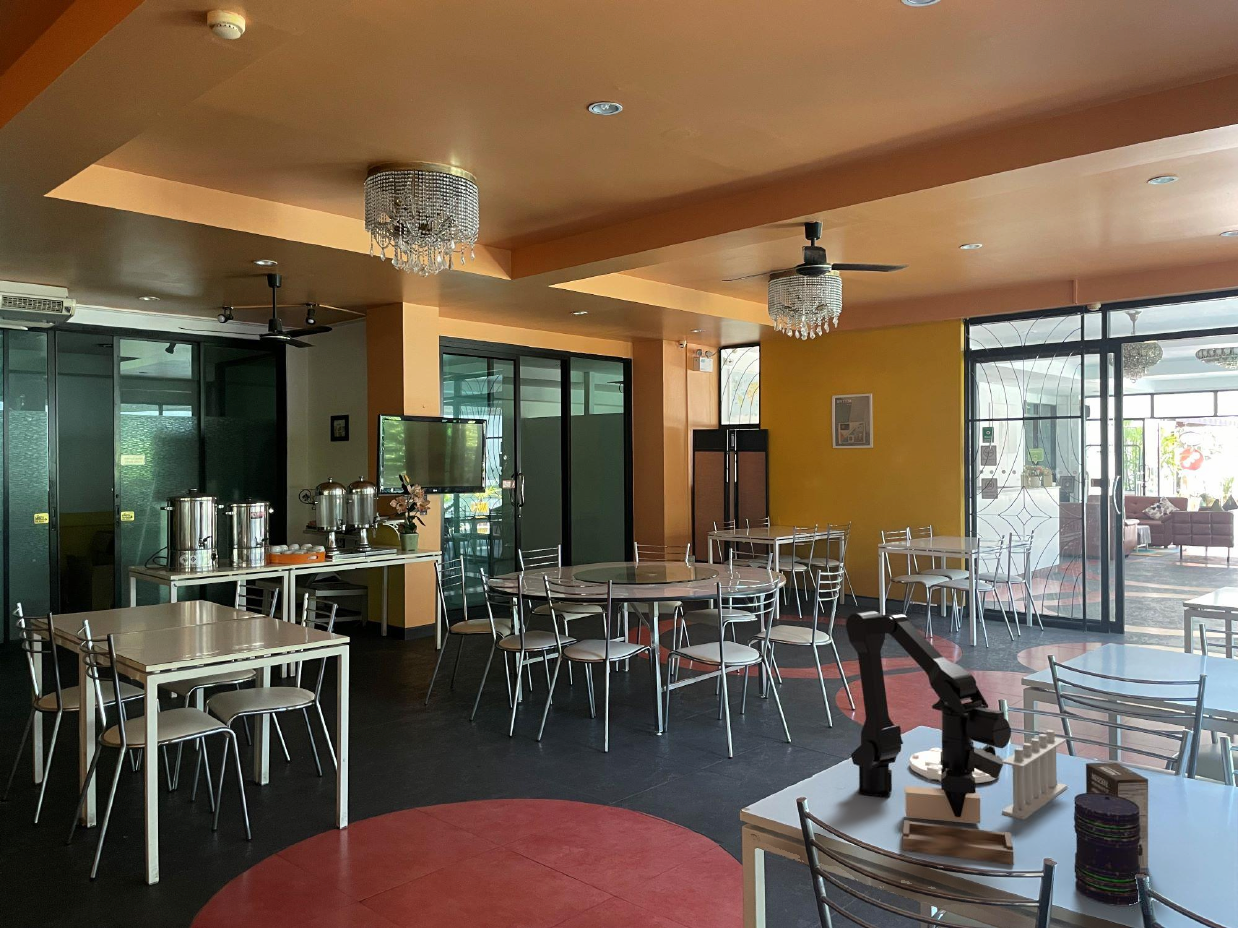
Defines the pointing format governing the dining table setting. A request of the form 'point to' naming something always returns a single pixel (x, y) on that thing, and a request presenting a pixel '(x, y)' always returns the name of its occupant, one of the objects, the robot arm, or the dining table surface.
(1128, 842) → the storage jar
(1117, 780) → the coffee box
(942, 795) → the clay bar
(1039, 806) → the test tube rack
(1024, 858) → the dining table surface
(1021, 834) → the dining table surface
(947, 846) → the cradle
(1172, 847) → the dining table surface
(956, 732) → the robot arm
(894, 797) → the dining table surface
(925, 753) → the embossed medallion
